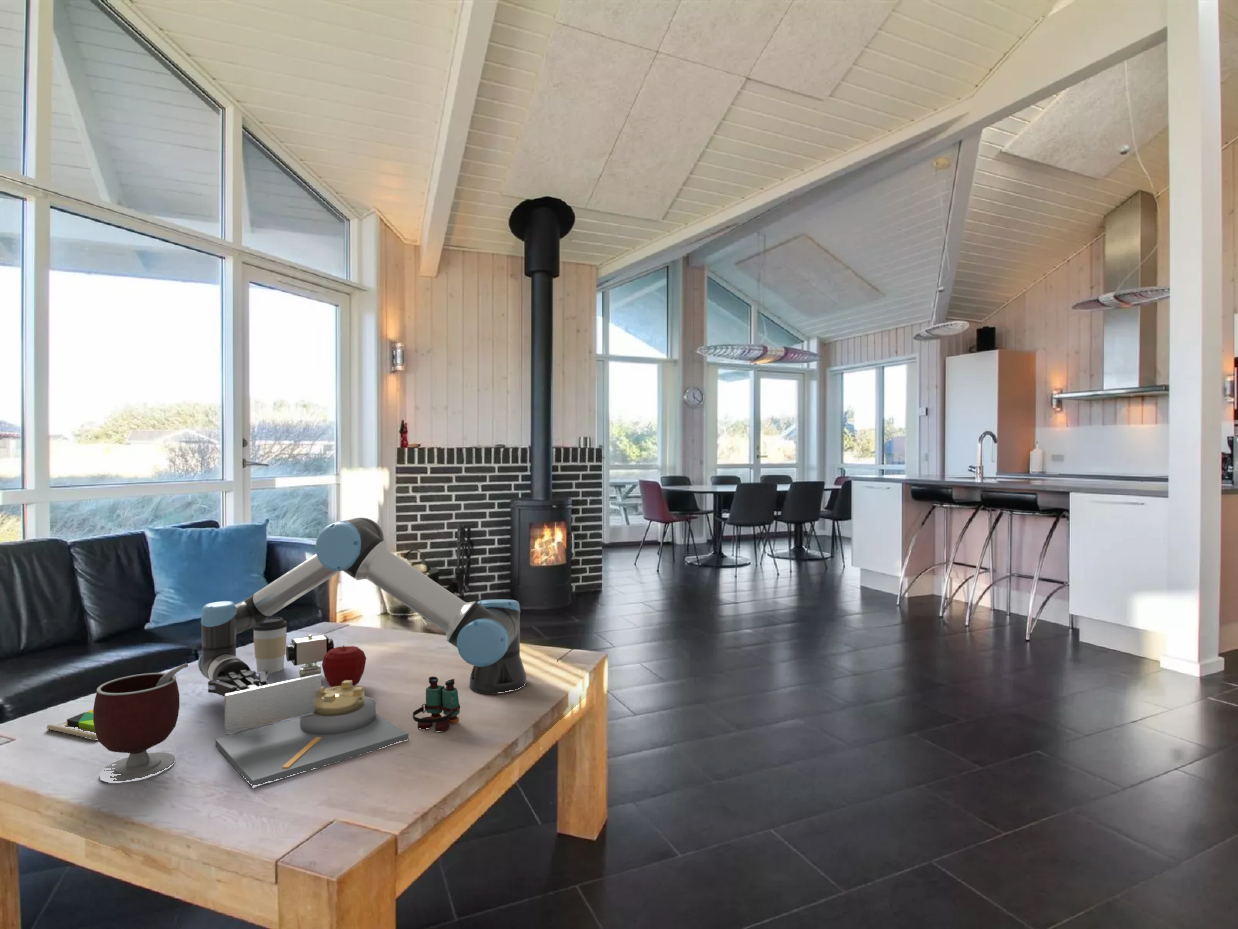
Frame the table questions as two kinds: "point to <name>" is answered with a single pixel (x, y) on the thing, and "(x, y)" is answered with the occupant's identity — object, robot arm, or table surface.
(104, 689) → the mate gourd
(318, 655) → the pneumatic valve
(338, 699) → the two-tone lugged fixture
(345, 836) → the table surface
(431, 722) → the binoculars
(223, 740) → the grey flat slab
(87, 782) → the table surface
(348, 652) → the apple
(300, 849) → the table surface
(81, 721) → the wooden puzzle
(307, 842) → the table surface
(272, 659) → the coffee cup
